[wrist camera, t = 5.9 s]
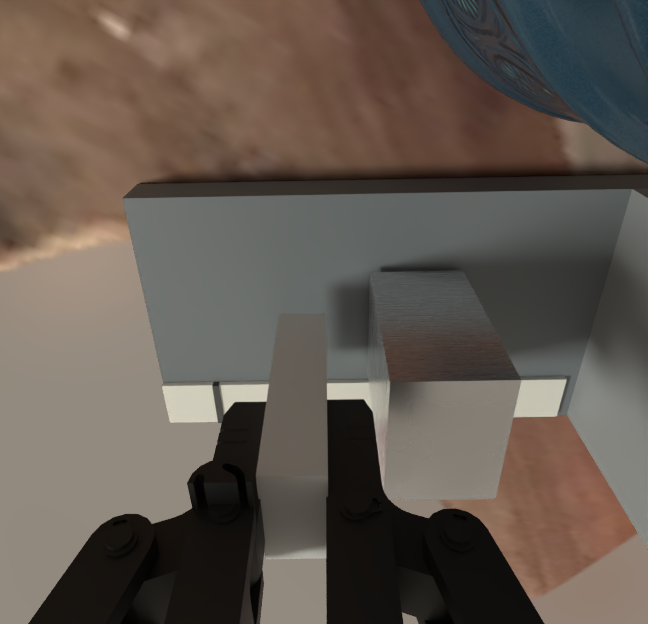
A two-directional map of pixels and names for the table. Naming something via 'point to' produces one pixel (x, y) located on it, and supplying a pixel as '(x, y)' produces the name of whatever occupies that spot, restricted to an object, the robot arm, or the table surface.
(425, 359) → the block
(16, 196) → the table surface
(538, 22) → the canister
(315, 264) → the gauge base
